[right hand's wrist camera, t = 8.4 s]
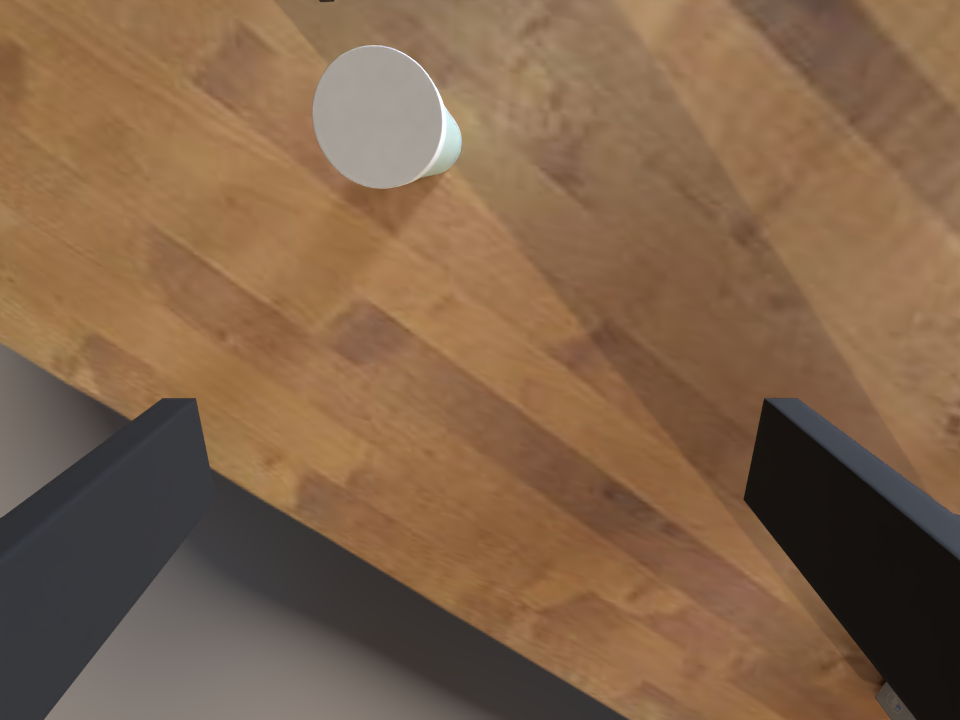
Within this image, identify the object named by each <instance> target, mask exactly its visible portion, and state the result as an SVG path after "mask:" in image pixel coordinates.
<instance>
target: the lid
mask: <svg viewBox="0 0 960 720" xmlns="http://www.w3.org/2000/svg"><path fill="white" fill-rule="evenodd" d="M312 119H313V126H314V131H315V135H316V138H317V141H318V143H319V146H320V148H321V150H322V151H323V153H324V155H325V156H326V158H327V159H328V161H329V162H330V163H331V164H332V165H333V167H334V168H335V169H336V170H338V171H339V172H340V173H341V174H342V175H343V176H345V177H346V178H348V179H349V180H351V181H353V182H355V183H357V184H360V185H363V186H366V187H370V188H378V189H385V188H393V187H398V186H402V185H406V184H408V183H411V182H413V181H415V180H417V179H419V178H420V177H421V176H423V175H424V174H425V173H426V172H427V171H429V170H430V168H431V167H432V166H433V165H434V164H435V162H436V160H437V159H438V157H439V155H440V153H441V151H442V148H443V145H444V142H445V136H446V113H445V108H444V105H443V101H442V98H441V96H440V94H439V92H438V90H437V88H436V87H435V85H434V83H433V82H432V80H431V79H430V77H429V76H428V74H427V73H426V72H425V71H424V69H423V68H422V67H421V66H420V65H419V64H418V63H417V62H416V61H414V60H413V59H412V58H410V57H409V56H407V55H406V54H404V53H402V52H400V51H398V50H395V49H393V48H389V47H385V46H376V45H371V46H362V47H358V48H355V49H352V50H349V51H347V52H346V53H344V54H342V55H340V56H339V57H338V58H337V59H335V60H334V61H333V62H332V63H331V64H330V65H329V66H328V67H327V69H326V70H325V72H324V73H323V75H322V76H321V78H320V80H319V82H318V85H317V87H316V90H315V94H314V99H313V107H312Z"/></svg>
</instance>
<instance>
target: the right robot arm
mask: <svg viewBox="0 0 960 720" xmlns="http://www.w3.org/2000/svg"><path fill="white" fill-rule="evenodd" d="M215 501H216V495H215V491H214V486H213V481H212V476H211V471H210V466H209V461H208V456H207V451H206V446H205V441H204V436H203V432H202V427H201V422H200V417H199V412H198V407H197V402H196V398H162V399H161V400H160V401H158V402H157V403H156V404H154V405H153V406H152V407H150V408H149V409H148V410H146V411H145V412H144V413H142V414H141V415H139V416H138V417H137V418H135V419H134V420H133V421H131V422H130V423H129V424H127V425H126V426H125V427H123V428H122V429H121V430H119V431H118V432H117V433H115V434H114V435H113V436H111V437H110V438H109V439H107V440H106V441H104V442H103V443H102V444H100V445H99V446H98V447H96V448H95V449H94V450H92V451H91V452H90V453H88V454H87V455H86V456H84V457H83V458H81V459H80V460H79V461H77V462H76V463H75V464H73V465H72V466H71V467H69V468H68V469H67V470H65V471H64V472H63V473H61V474H60V475H59V476H57V477H56V478H55V479H53V480H52V481H51V482H49V483H48V484H46V485H45V486H44V487H42V488H41V489H40V490H38V491H37V492H36V493H34V494H33V495H32V496H30V497H29V498H28V499H26V500H25V501H24V502H22V503H21V504H19V505H18V506H17V507H15V508H14V509H13V510H11V511H10V512H9V513H7V514H6V515H5V516H3V517H1V518H0V720H44V719H45V717H46V716H47V715H48V714H49V712H50V711H51V710H52V709H53V707H54V706H55V705H56V703H57V702H58V701H59V700H60V698H61V697H62V696H63V694H64V693H65V692H66V691H67V689H68V688H69V687H70V685H71V684H72V683H73V682H74V680H75V679H76V678H77V677H78V675H79V674H80V673H81V672H82V670H83V669H84V668H85V666H86V665H87V664H88V663H89V661H90V660H91V659H92V657H93V656H94V655H95V654H96V652H97V651H98V650H99V649H100V647H101V646H102V645H103V643H104V642H105V641H106V640H107V638H108V637H109V636H110V634H111V633H112V632H113V631H114V629H115V628H116V627H117V626H118V624H119V623H120V622H121V620H122V619H123V618H124V617H125V615H126V614H127V613H128V612H129V610H130V609H131V608H132V606H133V605H134V604H135V603H136V601H137V600H138V599H139V598H140V596H141V595H142V594H143V592H144V591H145V590H146V589H147V587H148V586H149V585H150V583H151V582H152V581H153V580H154V578H155V577H156V576H157V574H158V573H159V572H160V571H161V569H162V568H163V567H164V566H165V564H166V563H167V562H168V560H169V559H170V558H171V557H172V555H173V554H174V553H175V552H176V550H177V549H178V548H179V546H180V545H181V544H182V543H183V541H184V540H185V539H186V538H187V536H188V535H189V534H190V532H191V531H192V530H193V529H194V527H195V526H196V525H197V523H198V522H199V521H200V520H201V518H202V517H203V516H204V515H205V513H206V512H207V511H208V509H209V508H210V507H211V506H212V504H213V503H214V502H215ZM744 501H745V502H746V503H747V504H748V506H749V507H750V508H751V509H752V511H753V512H754V513H755V515H756V516H757V517H758V518H759V520H760V521H761V522H762V523H763V525H764V526H765V527H766V529H767V530H768V531H769V532H770V534H771V535H772V536H773V538H774V539H775V540H776V541H777V543H778V544H779V545H780V546H781V548H782V549H783V550H784V552H785V553H786V554H787V555H788V557H789V558H790V559H791V560H792V562H793V563H794V564H795V566H796V567H797V568H798V569H799V571H800V572H801V573H802V575H803V576H804V577H805V578H806V580H807V581H808V582H809V583H810V585H811V586H812V587H813V589H814V590H815V591H816V592H817V594H818V595H819V596H820V598H821V599H822V600H823V601H824V603H825V604H826V605H827V606H828V608H829V609H830V610H831V612H832V613H833V614H834V615H835V617H836V618H837V619H838V620H839V622H840V623H841V624H842V626H843V627H844V628H845V629H846V631H847V632H848V633H849V635H850V636H851V637H852V638H853V640H854V641H855V642H856V643H857V645H858V646H859V647H860V649H861V650H862V651H863V652H864V654H865V655H866V656H867V657H868V659H869V660H870V661H871V663H872V664H873V665H874V666H875V668H876V669H877V670H878V672H879V673H880V674H881V675H882V677H883V678H884V679H885V680H886V682H887V683H888V684H889V686H890V687H891V688H892V689H893V691H894V692H895V693H896V694H897V696H898V697H899V698H900V700H901V701H902V702H903V703H904V705H905V706H906V707H907V709H908V710H909V711H910V712H911V714H912V715H913V716H914V717H915V719H916V720H960V516H959V515H957V514H953V513H951V512H950V511H949V510H947V509H946V508H945V507H943V506H942V505H941V504H939V503H938V502H936V501H935V500H934V499H932V498H931V497H930V496H928V495H927V494H926V493H924V492H923V491H922V490H920V489H919V488H918V487H916V486H915V485H914V484H912V483H911V482H910V481H908V480H907V479H905V478H904V477H903V476H901V475H900V474H899V473H897V472H896V471H895V470H893V469H892V468H891V467H889V466H888V465H887V464H885V463H884V462H883V461H881V460H880V459H879V458H877V457H876V456H874V455H873V454H872V453H870V452H869V451H868V450H866V449H865V448H864V447H862V446H861V445H860V444H858V443H857V442H856V441H854V440H853V439H852V438H850V437H849V436H847V435H846V434H845V433H843V432H842V431H841V430H839V429H838V428H837V427H835V426H834V425H833V424H831V423H830V422H829V421H827V420H826V419H825V418H823V417H822V416H821V415H819V414H818V413H816V412H815V411H814V410H812V409H811V408H810V407H808V406H807V405H806V404H804V403H803V402H802V401H800V400H799V399H798V398H764V402H763V407H762V412H761V417H760V422H759V427H758V431H757V436H756V441H755V446H754V451H753V456H752V461H751V466H750V471H749V476H748V481H747V486H746V491H745V495H744Z"/></svg>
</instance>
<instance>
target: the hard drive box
mask: <svg viewBox="0 0 960 720" xmlns="http://www.w3.org/2000/svg"><path fill="white" fill-rule="evenodd" d="M875 698H876V700H877V701H878V702H879V704H880V705H881V706H882V708H883V709H884V711H885V712H886V713H887V715H888V716H889V717H890V719H891V720H916V719H915V717H914V716H913V715H912V714H911V712H910V711H909V710H908V709H907V707H906V706H905V705H904V703H903V702H902V701H901V700H900V698H899V697H898V696H897V694H896V693H895V692H894V691H893V689H892V688H891V687H890V686H889V684H888V683H887V682H886V683H885V684H884V685H883V687H882V688H881V689H880V690H879V692H878V693H877V694H876V696H875Z"/></svg>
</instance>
